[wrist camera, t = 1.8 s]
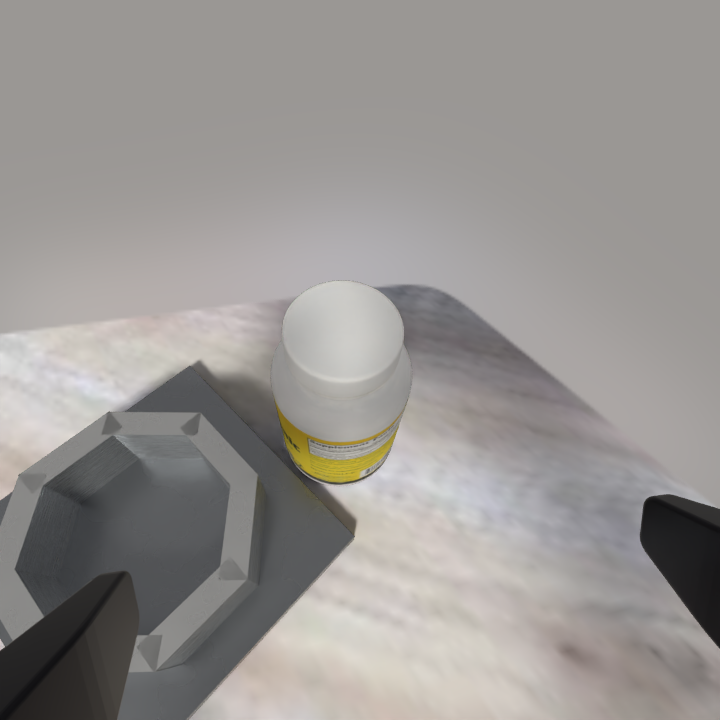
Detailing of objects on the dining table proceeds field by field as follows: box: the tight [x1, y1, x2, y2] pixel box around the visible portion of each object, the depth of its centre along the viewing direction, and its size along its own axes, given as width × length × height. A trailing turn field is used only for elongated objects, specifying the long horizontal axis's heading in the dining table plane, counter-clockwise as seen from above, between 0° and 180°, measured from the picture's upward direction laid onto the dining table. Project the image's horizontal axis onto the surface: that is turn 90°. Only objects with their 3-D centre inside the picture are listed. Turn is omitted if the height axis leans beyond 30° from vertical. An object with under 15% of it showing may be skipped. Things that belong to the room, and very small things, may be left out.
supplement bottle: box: [271, 280, 412, 486], centre depth 19 cm, size 5×5×10 cm
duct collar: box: [0, 366, 355, 720], centre depth 18 cm, size 12×12×4 cm
